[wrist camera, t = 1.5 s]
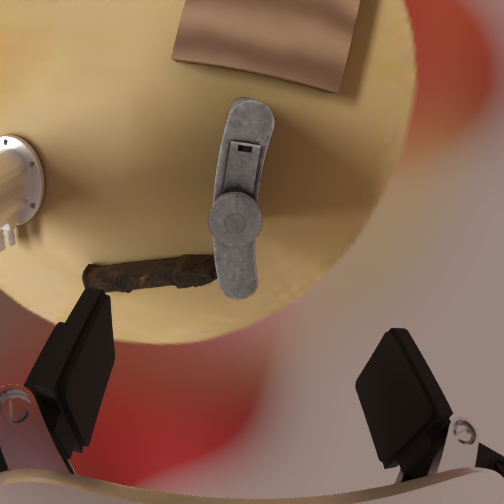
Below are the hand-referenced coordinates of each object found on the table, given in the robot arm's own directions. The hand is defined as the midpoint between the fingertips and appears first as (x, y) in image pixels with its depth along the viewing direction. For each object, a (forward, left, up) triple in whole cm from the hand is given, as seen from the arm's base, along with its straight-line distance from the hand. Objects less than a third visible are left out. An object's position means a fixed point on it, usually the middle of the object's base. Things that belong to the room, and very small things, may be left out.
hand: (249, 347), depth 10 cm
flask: (0, 0, -28) cm, 28 cm away
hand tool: (-15, +8, -29) cm, 33 cm away
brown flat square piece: (+18, 0, -28) cm, 33 cm away
